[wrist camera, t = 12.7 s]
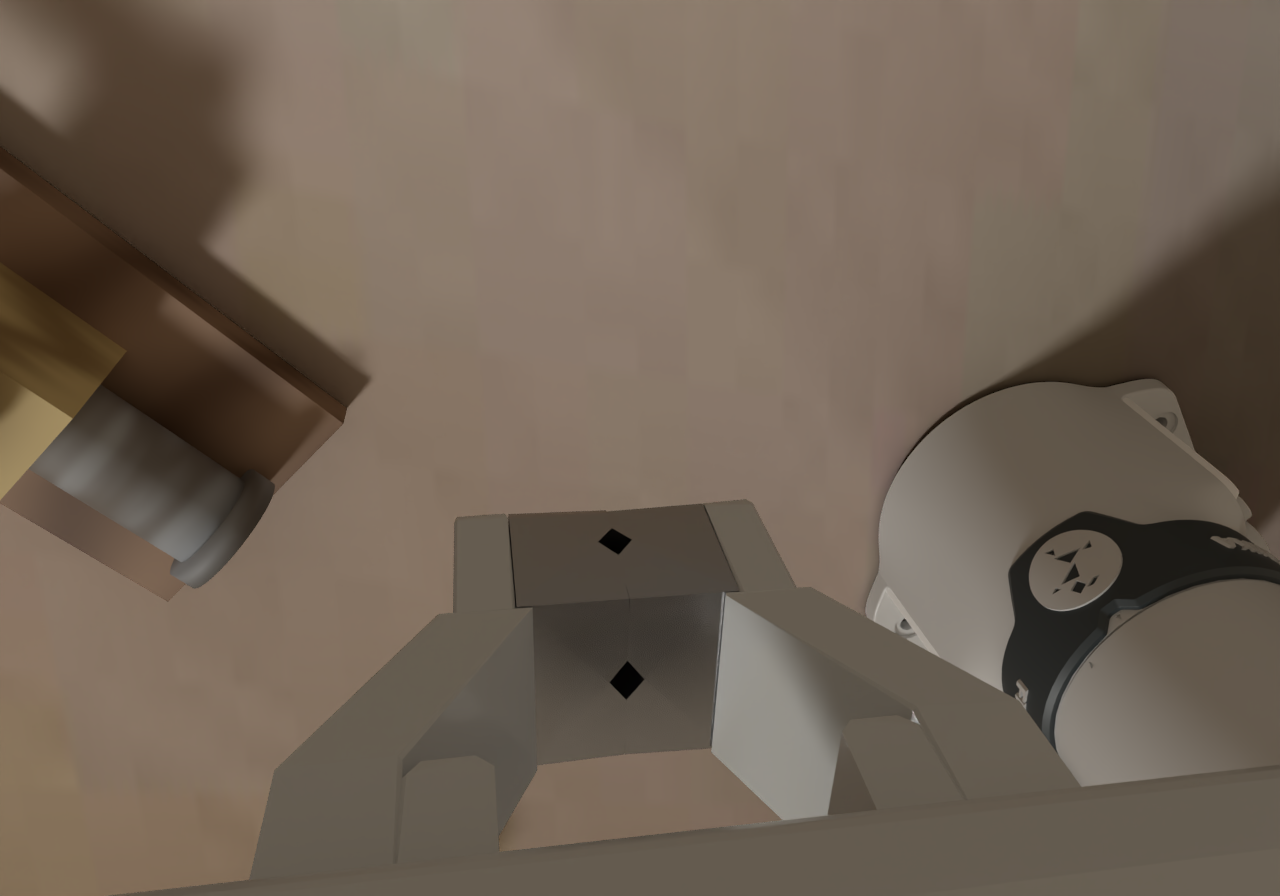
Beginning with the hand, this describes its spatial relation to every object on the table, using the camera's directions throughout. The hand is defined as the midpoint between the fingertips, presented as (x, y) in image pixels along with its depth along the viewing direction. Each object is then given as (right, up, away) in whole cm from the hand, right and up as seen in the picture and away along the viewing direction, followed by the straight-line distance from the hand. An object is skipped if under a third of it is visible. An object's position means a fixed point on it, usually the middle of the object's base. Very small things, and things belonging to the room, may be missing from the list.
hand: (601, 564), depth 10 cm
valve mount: (-24, +5, +28) cm, 38 cm away
